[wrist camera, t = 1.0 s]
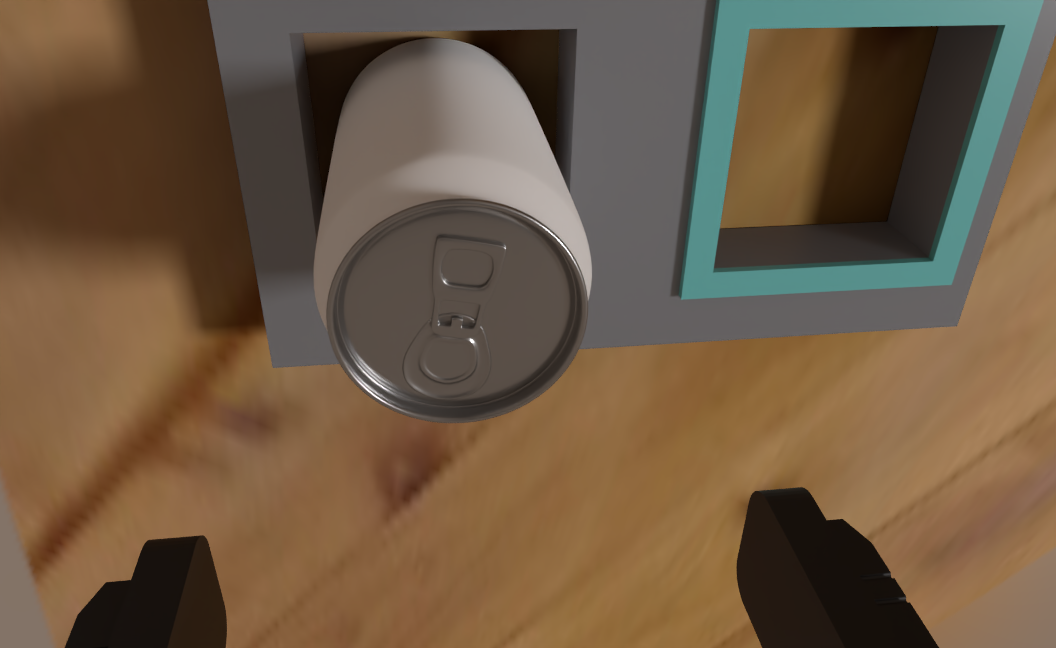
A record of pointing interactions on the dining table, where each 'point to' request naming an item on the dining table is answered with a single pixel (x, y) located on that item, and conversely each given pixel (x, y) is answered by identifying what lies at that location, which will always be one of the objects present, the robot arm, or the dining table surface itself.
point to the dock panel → (665, 160)
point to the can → (448, 239)
